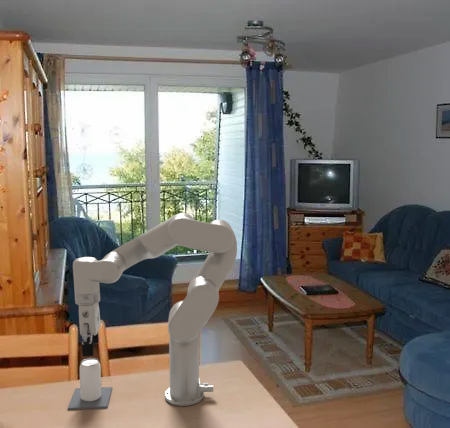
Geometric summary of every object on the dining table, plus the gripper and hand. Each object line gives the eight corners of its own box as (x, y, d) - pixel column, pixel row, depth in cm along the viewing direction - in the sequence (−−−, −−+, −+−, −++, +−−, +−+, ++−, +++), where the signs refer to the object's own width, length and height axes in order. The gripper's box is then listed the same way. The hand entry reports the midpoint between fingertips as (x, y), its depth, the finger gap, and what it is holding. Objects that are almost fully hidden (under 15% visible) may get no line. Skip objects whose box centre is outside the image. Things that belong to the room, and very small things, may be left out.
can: (95, 403, 153) (94, 367, 151) (76, 401, 154) (75, 365, 152) (104, 393, 159) (103, 358, 157) (86, 390, 160) (85, 356, 158)
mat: (112, 388, 163) (112, 386, 163) (107, 407, 151) (107, 406, 151) (75, 390, 162) (75, 388, 162) (67, 409, 150) (67, 407, 150)
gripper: (95, 305, 143) (98, 360, 146) (103, 288, 160) (106, 337, 163) (69, 307, 143) (73, 362, 145) (80, 289, 160) (83, 338, 162)
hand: (90, 349), depth 154 cm, fingers open, 9 cm apart
